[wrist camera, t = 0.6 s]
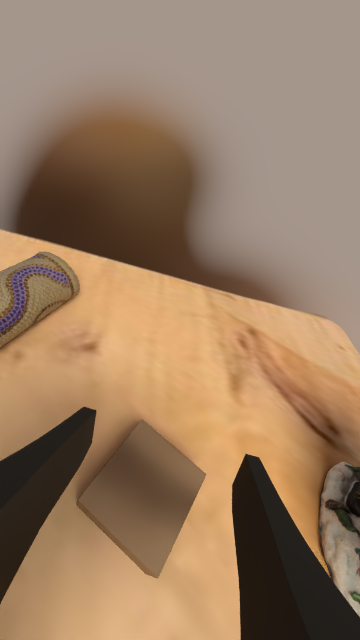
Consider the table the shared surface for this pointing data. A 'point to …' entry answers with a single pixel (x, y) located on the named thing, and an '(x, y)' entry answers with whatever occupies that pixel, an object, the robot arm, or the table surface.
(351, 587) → the santa figurine
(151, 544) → the walnut block
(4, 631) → the table surface
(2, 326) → the decorative bottle
